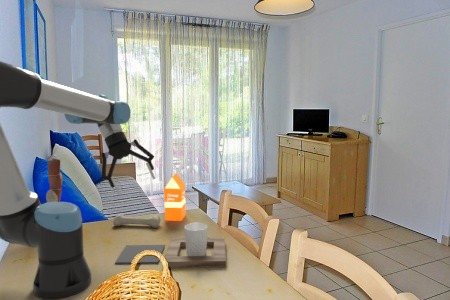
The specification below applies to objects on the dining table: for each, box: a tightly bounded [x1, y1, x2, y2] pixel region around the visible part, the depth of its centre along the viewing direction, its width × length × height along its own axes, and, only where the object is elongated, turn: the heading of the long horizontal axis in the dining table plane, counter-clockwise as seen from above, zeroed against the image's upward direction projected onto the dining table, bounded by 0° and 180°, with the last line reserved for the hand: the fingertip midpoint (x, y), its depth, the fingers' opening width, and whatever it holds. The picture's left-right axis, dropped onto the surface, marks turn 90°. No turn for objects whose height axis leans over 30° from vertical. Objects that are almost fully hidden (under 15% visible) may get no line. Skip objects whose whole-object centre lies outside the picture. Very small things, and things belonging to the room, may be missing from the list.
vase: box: [45, 158, 64, 203], centre depth 143 cm, size 10×7×30 cm
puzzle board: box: [164, 236, 227, 269], centre depth 121 cm, size 20×20×2 cm
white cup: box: [183, 222, 208, 256], centre depth 121 cm, size 8×8×10 cm
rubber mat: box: [114, 244, 165, 265], centre depth 121 cm, size 14×14×1 cm
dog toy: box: [112, 213, 162, 229], centre depth 150 cm, size 20×6×5 cm, turn 84°
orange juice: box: [163, 172, 187, 222], centre depth 159 cm, size 8×9×20 cm
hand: (137, 186), depth 130 cm, fingers open, 13 cm apart
